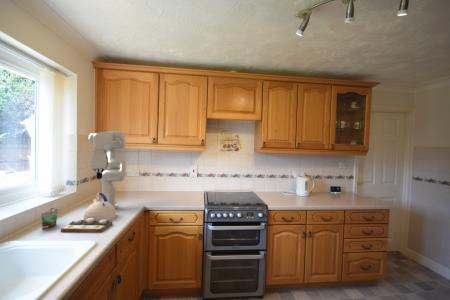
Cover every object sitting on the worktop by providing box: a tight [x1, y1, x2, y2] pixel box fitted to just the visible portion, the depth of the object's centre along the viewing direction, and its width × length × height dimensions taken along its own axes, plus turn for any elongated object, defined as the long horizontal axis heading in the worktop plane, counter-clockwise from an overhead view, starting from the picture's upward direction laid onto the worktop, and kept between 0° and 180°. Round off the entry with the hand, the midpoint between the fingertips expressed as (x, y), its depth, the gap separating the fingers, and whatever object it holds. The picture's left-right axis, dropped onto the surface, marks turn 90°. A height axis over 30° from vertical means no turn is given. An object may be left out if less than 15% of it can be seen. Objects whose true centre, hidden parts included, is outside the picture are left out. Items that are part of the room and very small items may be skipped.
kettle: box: [83, 192, 117, 221], centre depth 154 cm, size 20×21×18 cm
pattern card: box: [61, 224, 104, 229], centre depth 131 cm, size 5×22×1 cm, turn 91°
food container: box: [40, 207, 59, 230], centre depth 137 cm, size 12×6×10 cm, turn 17°
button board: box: [60, 219, 113, 233], centre depth 135 cm, size 13×24×3 cm, turn 91°
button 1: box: [73, 218, 82, 223], centre depth 137 cm, size 4×4×2 cm
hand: (99, 178), depth 147 cm, fingers closed
